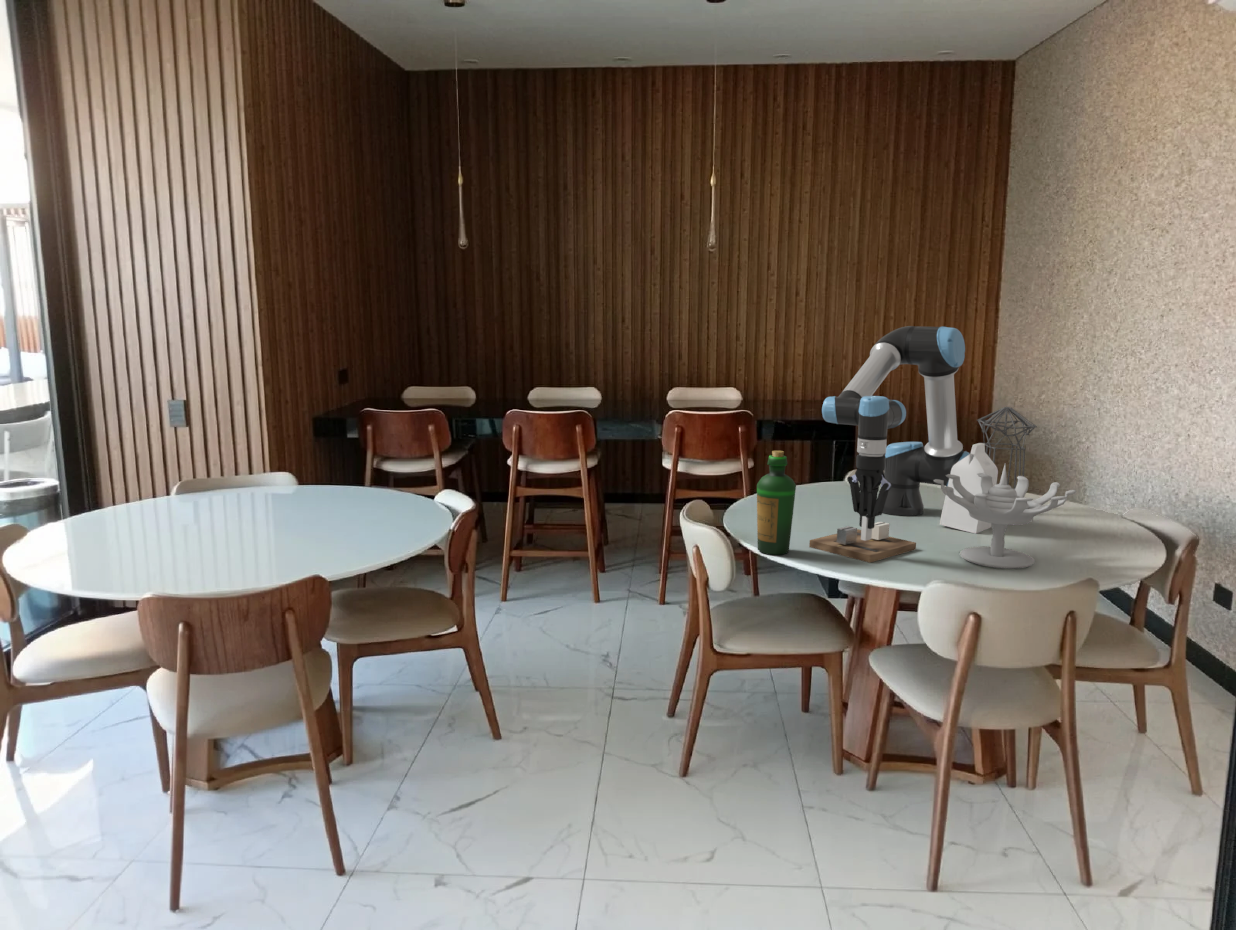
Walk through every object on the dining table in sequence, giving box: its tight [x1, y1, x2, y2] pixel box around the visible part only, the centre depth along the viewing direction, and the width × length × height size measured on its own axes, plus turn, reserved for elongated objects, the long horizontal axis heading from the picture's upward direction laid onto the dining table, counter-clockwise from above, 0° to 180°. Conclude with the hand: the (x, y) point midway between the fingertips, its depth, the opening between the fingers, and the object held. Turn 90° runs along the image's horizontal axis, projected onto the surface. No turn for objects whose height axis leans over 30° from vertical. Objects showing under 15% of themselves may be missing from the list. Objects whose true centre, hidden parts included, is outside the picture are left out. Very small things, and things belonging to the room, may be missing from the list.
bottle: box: [756, 450, 797, 556], centre depth 249 cm, size 11×11×28 cm
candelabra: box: [933, 464, 1077, 570], centre depth 243 cm, size 34×35×27 cm
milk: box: [939, 442, 999, 534], centre depth 281 cm, size 12×12×26 cm
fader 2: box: [871, 521, 890, 540], centre depth 259 cm, size 3×5×4 cm, turn 130°
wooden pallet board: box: [808, 528, 917, 563], centre depth 256 cm, size 20×22×2 cm
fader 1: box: [836, 525, 858, 545], centre depth 253 cm, size 3×5×4 cm, turn 130°
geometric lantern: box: [976, 406, 1038, 490], centre depth 307 cm, size 16×16×35 cm
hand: (866, 539), depth 249 cm, fingers closed
